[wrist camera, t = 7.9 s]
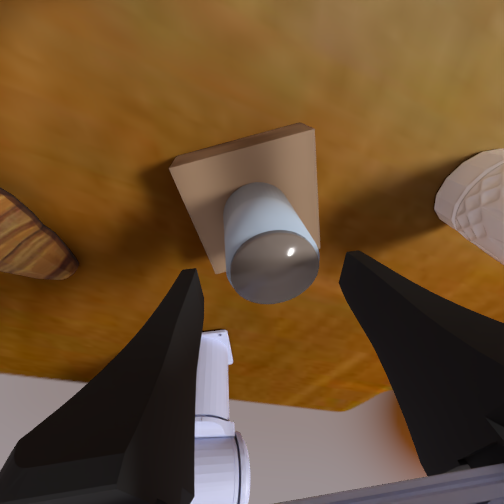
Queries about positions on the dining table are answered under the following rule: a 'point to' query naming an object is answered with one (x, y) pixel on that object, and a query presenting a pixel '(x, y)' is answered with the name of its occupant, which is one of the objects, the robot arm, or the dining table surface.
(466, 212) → the white cup
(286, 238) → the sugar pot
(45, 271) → the croissant
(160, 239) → the dining table surface
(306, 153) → the walnut box
